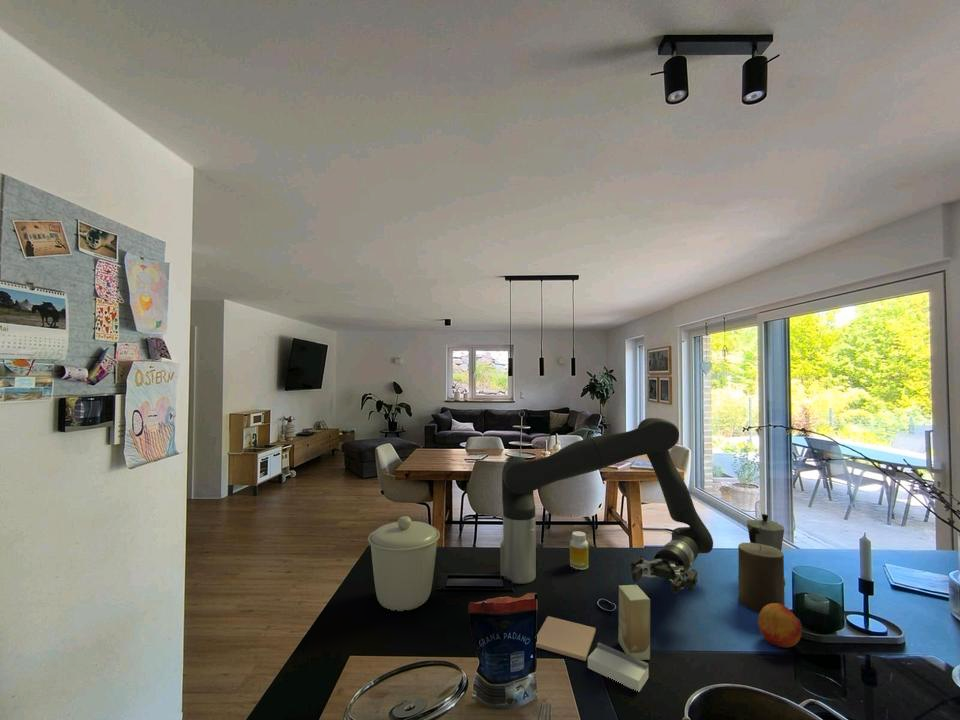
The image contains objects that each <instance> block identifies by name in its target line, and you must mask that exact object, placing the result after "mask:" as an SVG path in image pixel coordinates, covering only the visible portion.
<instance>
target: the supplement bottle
mask: <svg viewBox="0 0 960 720" xmlns="http://www.w3.org/2000/svg"><path fill="white" fill-rule="evenodd" d="M571 535H572V536H571V537H572V539H571V540H570V541H569V566H570V567H571V568H572V567H573V568H572V569H574V568H575V569H574V570H578V569H579V570H581V571H583V570H586V569H589V542H588V541H587V537H586V533H585V532H583V531H572V533H571Z"/></svg>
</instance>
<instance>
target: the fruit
mask: <svg viewBox="0 0 960 720" xmlns="http://www.w3.org/2000/svg"><path fill="white" fill-rule="evenodd" d="M757 625H758V628H759V631H760V633H761V635H762V636H763V637H764V639H765V640H766V641H767V643H770V644H771V645H773V646H775V647H779V648H786V649H787V648H791V647H794V646H795V645H797V644H798V643H799V641H801V637H802V633H803V632H802V631H803V630H802V629H803V628H802V623H801V621H800V619H799V618H798V617H797V616H795V614H794V613H793V611H791V610H790V609H789V608H788V607H787V606H786V605H785V606H784V605H782V604H779V603H770V604H768V605H766V606H764V607H763V609H762V610H761V612H760V613H759V614H758V617H757Z"/></svg>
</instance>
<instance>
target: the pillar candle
mask: <svg viewBox="0 0 960 720" xmlns="http://www.w3.org/2000/svg"><path fill="white" fill-rule="evenodd" d="M737 546H738V547H737V548H738V549H737V550H738V553H737V554H738V562H737V563H738V577H737V578H738V588H737V589H738V591H737V592H738V594H737V595H738V600H739V602H740V603H741V604H742V606H744V607H745V608H747V609H749V610H751V611H753V612H757V613H759V614H760V612H761V610H762V609H763V607H764V606H766V605H768V604H770V603H779V604H782V605H784V606H786V605H785V604H786V603H785V601H786V600H785V584H784V579H785V561H784V559H785V558H784V553H783V551H782V550H781V551H780V550H778V549H777V548H774V547H771V546H767V545H763V544H758V543H750V542H741V543H739V544H738V545H737Z"/></svg>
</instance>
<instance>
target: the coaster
mask: <svg viewBox="0 0 960 720" xmlns="http://www.w3.org/2000/svg"><path fill="white" fill-rule="evenodd" d="M595 635H596V627H593V626H588V625H585V624H582V623H577V622H573V621H569V620H566V619H562V618H558V617H553V616H549V615H547V617H546V618H545V620H544V622H543V624H542V625H541V627H540V629H539V630H538V633H537V634H536V636H537V642H536V647H535V648H537V649H542V650H546V651H549V652H552V653H556V654H559V655H563V656H567V657H570V658H573V659H577V660H580V661H583V662H586V660H587V659H588V654H589V652H590V649H591V646H592V643H593V640H594V637H595Z"/></svg>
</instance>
